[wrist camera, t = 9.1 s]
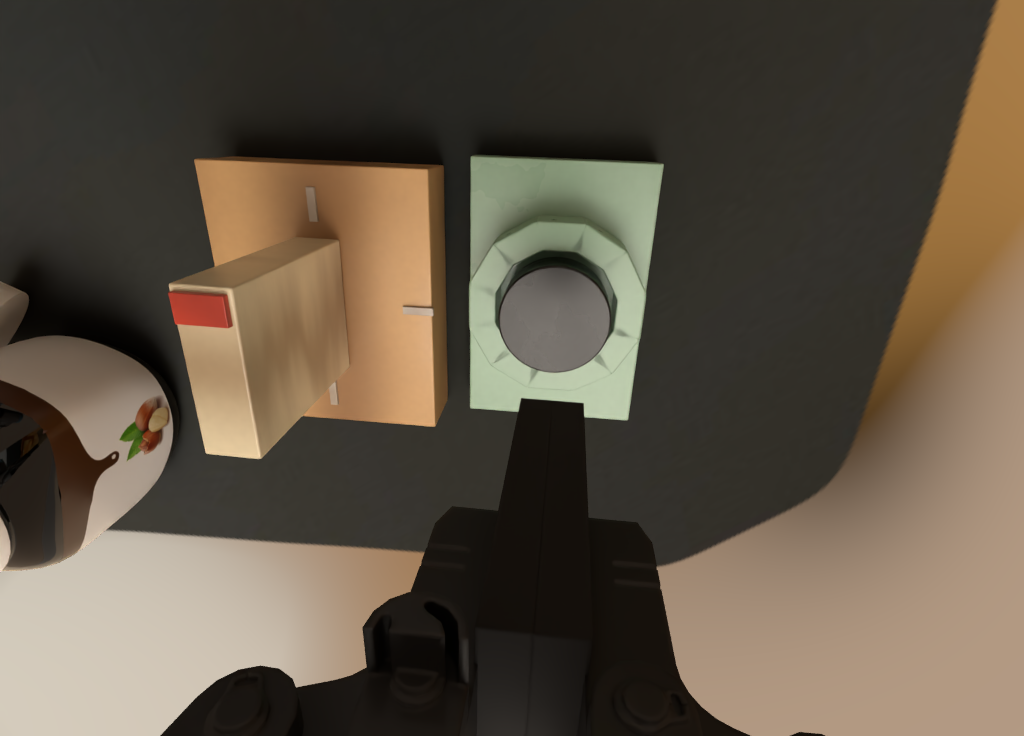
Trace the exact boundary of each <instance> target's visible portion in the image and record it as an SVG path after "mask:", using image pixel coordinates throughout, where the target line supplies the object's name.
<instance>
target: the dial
mask: <svg viewBox="0 0 1024 736" xmlns="http://www.w3.org/2000/svg"><path fill="white" fill-rule="evenodd" d="M169 289H170V292H168V294H169V299H170V303H171V308H172V312H173V317H174V321H175V324H177V325H178V329H179V334H180V338H181V343H182V347H183V352H184V357H185V361H186V366H187V370H188V375H189V379H190V384H191V388H192V393H193V397H194V402H195V406H196V411H197V415H198V420H199V425H200V429H201V434H202V438H203V443H204V447H205V452H206V453H207V454H214V455H224V456H234V457H244V458H254V459H261V458H262V457H263V456H264V455H265V454H266V453H267V452H268V451H269V450H270V449H271V448H272V447H273V446H274V445H275V444H276V443H277V442H278V441H279V439H280V438H281V437H282V436H283V435H284V434H285V433H286V432H287V431H288V430H289V429H290V428H291V427H292V426H293V425H294V424H295V423H296V422H297V421H298V420H299V419H300V418H301V417H302V416H303V414H304V413H305V412H306V411H307V410H308V409H309V408H310V407H311V406H312V405H313V404H314V403H315V402H316V401H317V400H318V399H319V398H320V397H321V396H322V395H323V394H324V393H325V392H326V390H327V389H328V388H329V387H330V386H331V385H332V384H333V383H334V382H335V381H336V380H337V379H338V378H339V377H340V376H341V375H342V374H343V373H344V372H345V371H346V370H347V369H348V368H349V366H350V365H349V353H348V341H347V329H346V317H345V306H344V294H343V282H342V270H341V258H340V246H339V240H333V239H318V238H304V237H294V238H292V239H289V240H286V241H284V242H281V243H278V244H275V245H273V246H270V247H267V248H264V249H262V250H259V251H256V252H254V253H251V254H248V255H245V256H243V257H240V258H237V259H234V260H232V261H229V262H226V263H224V264H221V265H218V266H215V267H213V268H210V269H207V270H205V271H202V272H199V273H196V274H194V275H191V276H188V277H185V278H183V279H180V280H177V281H175V282H172V283H170V284H169Z"/></svg>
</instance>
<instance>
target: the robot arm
mask: <svg viewBox="0 0 1024 736" xmlns="http://www.w3.org/2000/svg"><path fill="white" fill-rule="evenodd" d="M656 567H657V565H656V560H655V555H654V550H653V545H652V542H651V541H650V539H649V538H648V537H647V535H646V534H645V533H644V531H643V530H642V528H641V527H640V526H639V524H638V523H636V522H626V521H616V520H605V519H595V518H588V498H587V473H586V448H585V423H584V403H578V402H565V401H552V400H540V399H527V398H521V401H520V406H519V411H518V416H517V421H516V426H515V431H514V436H513V441H512V446H511V451H510V456H509V461H508V465H507V470H506V475H505V480H504V485H503V490H502V495H501V500H500V505H499V510H498V511H494V510H484V509H474V508H463V507H453V506H452V507H451V508H450V509H449V510H448V511H447V512H446V513H445V514H444V515H443V516H442V517H441V518H440V519H439V520H438V521H437V522H436V523H435V526H434V528H433V531H432V534H431V537H430V540H429V542H428V547H427V548H426V551H425V553H424V556H423V559H422V564H421V566H420V567H419V570H418V573H417V576H416V578H415V581H414V584H413V587H412V589H411V592H408V593H406V594H403V595H400V596H397V597H395V598H392V599H389V600H388V601H387V602H385V603H384V604H383V605H381V606H380V607H379V608H377V609H376V610H374V611H373V613H372V614H371V616H370V617H369V619H368V620H367V622H366V623H365V625H364V626H363V636H364V645H365V655H366V664H367V668H365V669H363V670H361V671H359V672H357V673H355V674H353V675H351V676H347V677H344V678H341V679H338V680H333V681H328V682H323V683H318V684H312V685H307V686H302V687H297V688H296V687H295V684H294V682H293V679H292V678H290V677H289V676H288V675H287V674H285V673H284V672H283V671H281V670H280V669H277V668H271V667H265V666H256V667H251V668H245V669H240V670H237V671H236V672H233V673H231V674H229V675H227V676H225V677H223V678H221V679H219V680H217V681H216V682H215V683H213V684H212V685H211V686H210V687H209V688H207V689H206V690H205V691H204V692H203V693H201V694H200V695H199V696H198V697H197V698H196V699H195V700H194V701H193V702H192V703H191V704H190V705H189V706H188V707H187V708H186V709H185V710H184V711H183V712H182V713H181V714H180V716H179V717H178V718H177V719H176V720H175V721H174V722H173V723H172V724H171V725H170V726H169V727H168V728H167V729H166V730H165V731H164V732H163V734H162V735H161V736H750V735H748V734H745V733H743V732H741V731H739V730H736V729H734V728H732V727H730V726H728V725H726V724H725V723H723V722H721V721H719V720H718V719H716V718H714V717H713V716H712V715H711V714H710V713H708V712H707V711H706V710H705V709H703V708H702V707H701V706H700V705H699V704H698V703H697V701H696V700H695V699H694V698H693V697H692V696H691V695H690V693H689V692H688V690H687V689H686V687H685V685H684V684H683V682H682V680H681V678H680V675H679V672H678V669H677V666H676V662H675V657H674V652H673V647H672V642H671V636H670V631H669V626H668V621H667V616H666V611H665V606H664V601H663V596H662V591H661V590H660V580H659V576H658V570H657V569H656ZM791 736H825V735H822V734H815V733H803V732H799V733H796V734H794V735H791Z"/></svg>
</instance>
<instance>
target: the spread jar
mask: <svg viewBox="0 0 1024 736" xmlns="http://www.w3.org/2000/svg"><path fill="white" fill-rule="evenodd" d="M28 304H29V296H28V295H27V294H26V293H25V292H23V291H20V290H18V289H16V288H14V287H12V286H9V285H7V284H5V283H3V282H1V281H0V572H1V571H19V570H30V569H38V568H43V567H47V566H50V565H54V564H57V563H59V562H61V561H63V560H65V559H67V558H69V557H71V556H72V555H74V554H75V553H77V552H78V551H80V550H81V549H83V548H84V547H85V546H87V545H88V544H89V543H91V542H92V541H93V540H94V539H96V538H97V537H98V536H99V535H101V534H102V533H103V532H104V531H105V530H106V529H108V528H109V527H110V526H111V525H112V524H114V523H115V522H116V521H117V520H118V519H119V518H121V517H122V516H123V515H124V514H125V513H126V512H128V511H129V510H130V509H131V508H132V507H133V506H134V505H135V504H136V503H137V502H138V501H139V500H140V499H141V498H142V497H143V496H144V495H145V494H146V493H147V492H148V491H149V490H150V489H151V487H152V486H153V485H154V484H155V483H156V481H157V480H158V478H159V477H160V475H161V473H162V472H163V470H164V468H165V466H166V464H167V462H168V461H169V458H170V456H171V454H172V451H173V449H174V446H175V443H176V440H177V437H178V432H179V423H180V419H179V410H178V406H177V403H176V400H175V397H174V395H173V393H172V391H171V389H170V388H169V386H168V385H167V383H166V382H165V380H164V379H163V378H162V377H161V375H160V374H159V373H158V372H157V371H156V370H155V369H154V368H152V367H151V366H150V365H149V364H147V363H146V362H144V361H143V360H141V359H140V358H138V357H136V356H135V355H133V354H131V353H129V352H127V351H125V350H123V349H120V348H118V347H115V346H112V345H109V344H106V343H103V342H99V341H95V340H91V339H86V338H79V337H70V336H58V335H55V336H42V337H35V338H31V339H27V340H23V341H19V342H16V343H13V344H10V345H7V344H8V343H9V342H10V340H11V339H12V337H13V335H14V334H15V332H16V331H17V329H18V327H19V325H20V324H21V322H22V320H23V318H24V315H25V313H26V311H27V308H28Z"/></svg>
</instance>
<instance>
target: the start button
mask: <svg viewBox="0 0 1024 736" xmlns="http://www.w3.org/2000/svg"><path fill="white" fill-rule="evenodd" d="M611 319H612V317H611V309H610V305H609V300H608V296H607V292H606V290H605V287H604V285H603V283H602V282H601V280H600V279H599V277H598V276H597V275H596V274H595V273H594V272H593V271H592V270H591V269H590V268H588V267H587V266H586V265H584V264H582V263H581V262H578V261H576V260H573V259H570V258H565V257H547V258H542V259H538V260H536V261H533V262H531V263H529V264H528V265H526V266H524V267H523V268H522V269H521V270H519V271H518V272H517V273H516V274H515V275H514V277H513V278H512V280H511V281H510V283H509V284H508V286H507V288H506V291H505V293H504V296H503V298H502V301H501V303H500V307H499V313H498V325H499V331H500V334H501V337H502V339H503V342H504V344H505V345H506V347H507V348H508V350H509V351H510V352H511V353H512V355H513V356H514V357H515V358H517V359H518V360H519V361H520V362H522V363H523V364H525V365H527V366H528V367H530V368H533V369H536V370H539V371H543V372H549V373H560V372H567V371H571V370H574V369H577V368H579V367H581V366H583V365H585V364H587V363H588V362H590V361H591V360H592V359H593V358H594V357H595V356H596V355H597V354H598V353H599V352H600V351H601V349H602V348H603V346H604V345H605V343H606V341H607V339H608V336H609V333H610V329H611Z"/></svg>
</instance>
